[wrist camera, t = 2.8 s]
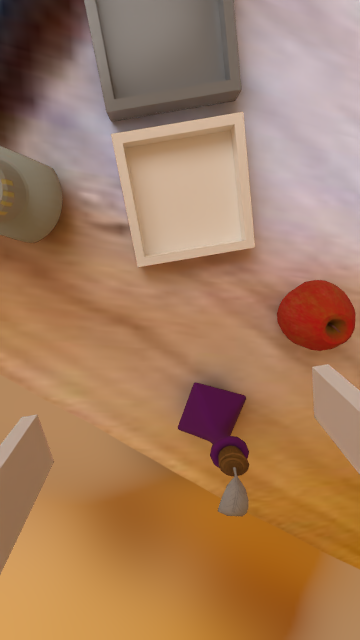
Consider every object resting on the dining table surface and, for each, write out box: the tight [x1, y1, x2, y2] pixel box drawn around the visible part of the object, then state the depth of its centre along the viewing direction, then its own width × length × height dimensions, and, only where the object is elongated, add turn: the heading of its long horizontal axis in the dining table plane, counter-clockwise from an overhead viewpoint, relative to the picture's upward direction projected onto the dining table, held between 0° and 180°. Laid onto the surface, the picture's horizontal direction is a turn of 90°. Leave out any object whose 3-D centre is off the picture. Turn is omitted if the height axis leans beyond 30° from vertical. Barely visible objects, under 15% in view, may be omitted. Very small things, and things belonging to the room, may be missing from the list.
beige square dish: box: [111, 112, 255, 267], centre depth 36 cm, size 14×14×3 cm
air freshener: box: [0, 146, 63, 243], centre depth 31 cm, size 11×8×10 cm
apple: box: [277, 280, 355, 351], centre depth 37 cm, size 8×8×11 cm
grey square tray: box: [84, 0, 241, 121], centre depth 31 cm, size 14×14×3 cm
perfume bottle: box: [178, 383, 249, 516], centre depth 37 cm, size 8×8×18 cm
